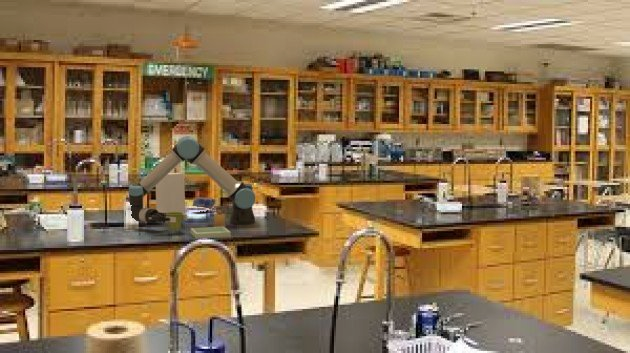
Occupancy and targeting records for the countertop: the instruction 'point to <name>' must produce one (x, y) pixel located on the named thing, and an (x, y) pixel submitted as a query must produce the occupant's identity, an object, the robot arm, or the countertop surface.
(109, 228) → the countertop surface
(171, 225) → the plant pot
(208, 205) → the mineral
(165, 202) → the cylinder
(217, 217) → the reagent bottle
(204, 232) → the tray
